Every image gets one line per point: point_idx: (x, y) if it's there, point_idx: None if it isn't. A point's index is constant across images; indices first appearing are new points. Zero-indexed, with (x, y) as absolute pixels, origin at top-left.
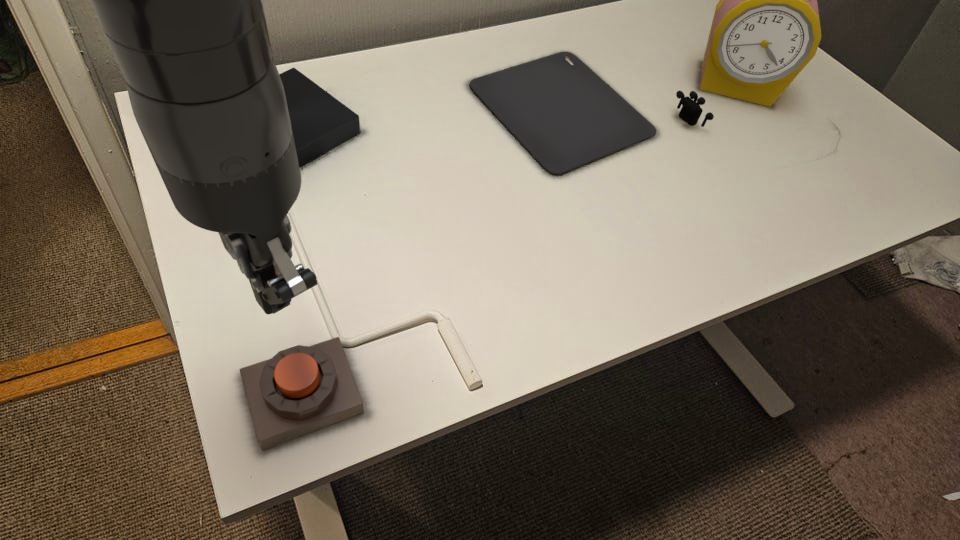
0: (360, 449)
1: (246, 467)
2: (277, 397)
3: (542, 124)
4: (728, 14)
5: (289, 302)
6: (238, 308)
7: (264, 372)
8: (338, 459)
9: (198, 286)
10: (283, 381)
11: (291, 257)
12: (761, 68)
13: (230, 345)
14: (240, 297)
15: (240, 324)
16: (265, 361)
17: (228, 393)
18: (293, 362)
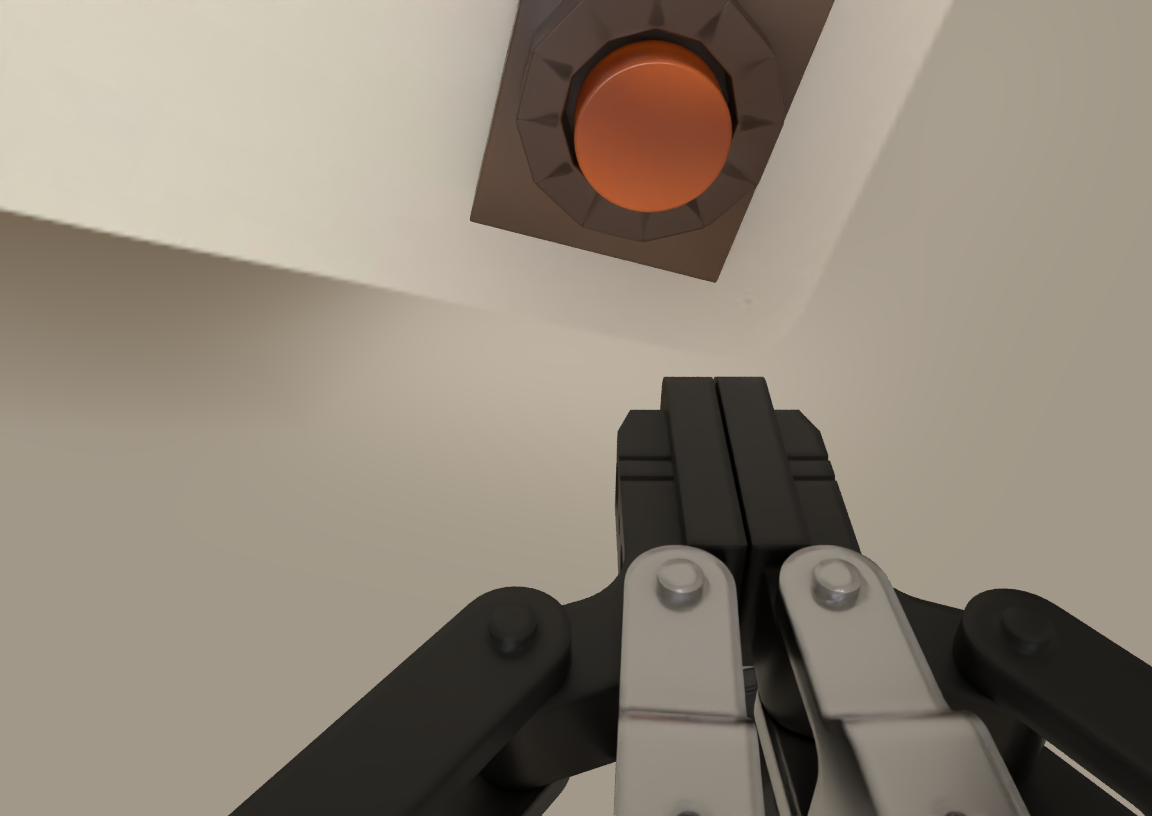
0: (921, 26)
1: (718, 299)
2: (668, 210)
3: None
4: None
5: (820, 438)
6: (203, 81)
7: (560, 199)
8: (890, 100)
9: (54, 148)
10: (659, 194)
11: (972, 712)
12: None
13: (339, 169)
14: (156, 52)
15: (273, 107)
16: (491, 146)
17: (494, 244)
18: (617, 130)
